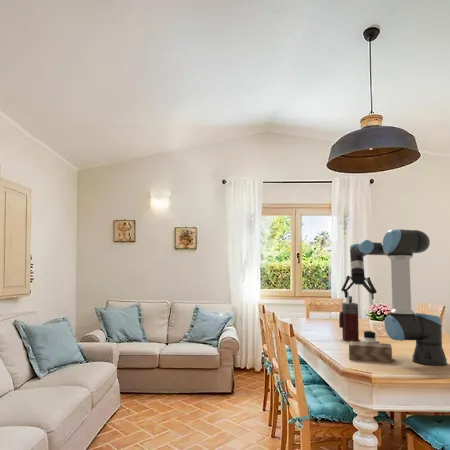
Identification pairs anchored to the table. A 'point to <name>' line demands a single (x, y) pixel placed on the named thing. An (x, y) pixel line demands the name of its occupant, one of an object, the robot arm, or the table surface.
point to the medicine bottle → (370, 337)
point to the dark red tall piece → (349, 321)
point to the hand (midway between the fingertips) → (359, 304)
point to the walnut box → (370, 351)
